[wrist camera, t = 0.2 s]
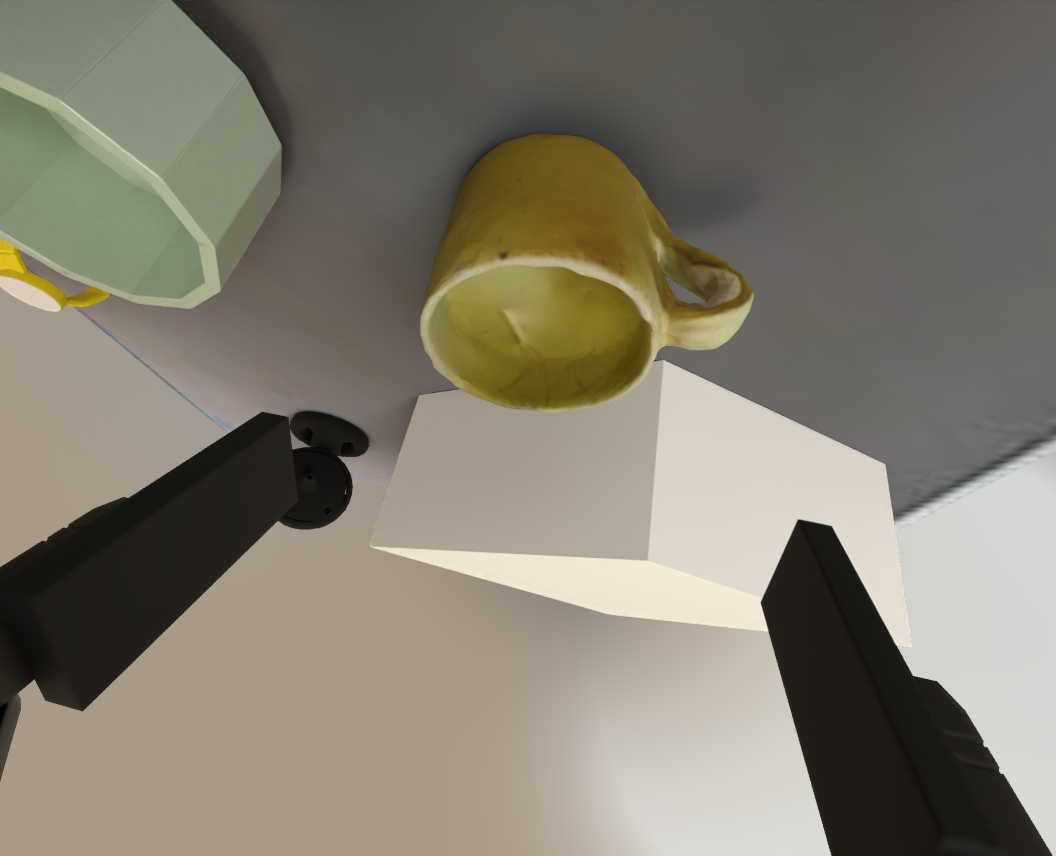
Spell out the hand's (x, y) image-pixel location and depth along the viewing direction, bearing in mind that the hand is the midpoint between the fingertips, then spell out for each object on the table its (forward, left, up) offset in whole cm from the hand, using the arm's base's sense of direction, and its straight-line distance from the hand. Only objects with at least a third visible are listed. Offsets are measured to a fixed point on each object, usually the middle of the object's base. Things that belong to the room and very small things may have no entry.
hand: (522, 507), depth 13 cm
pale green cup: (-3, -19, -14) cm, 24 cm away
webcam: (+30, -25, -15) cm, 42 cm away
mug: (+3, 0, -15) cm, 16 cm away
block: (+22, +4, -15) cm, 27 cm away
